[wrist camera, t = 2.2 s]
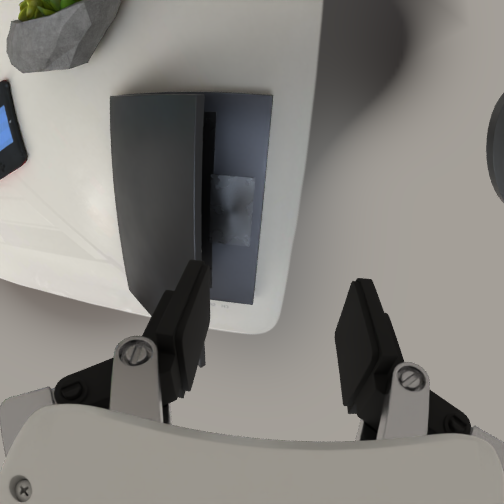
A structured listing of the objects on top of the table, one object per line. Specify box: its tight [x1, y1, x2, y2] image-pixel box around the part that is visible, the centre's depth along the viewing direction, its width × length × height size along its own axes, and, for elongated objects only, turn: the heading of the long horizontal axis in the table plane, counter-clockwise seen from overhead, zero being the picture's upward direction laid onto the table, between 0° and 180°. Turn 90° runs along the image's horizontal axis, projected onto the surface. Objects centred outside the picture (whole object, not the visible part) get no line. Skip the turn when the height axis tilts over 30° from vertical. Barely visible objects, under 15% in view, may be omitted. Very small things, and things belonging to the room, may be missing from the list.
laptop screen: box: [110, 94, 205, 367], centre depth 29 cm, size 17×26×1 cm
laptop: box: [118, 92, 273, 305], centre depth 34 cm, size 17×26×2 cm, turn 176°
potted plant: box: [7, 0, 121, 73], centre depth 18 cm, size 12×13×15 cm
